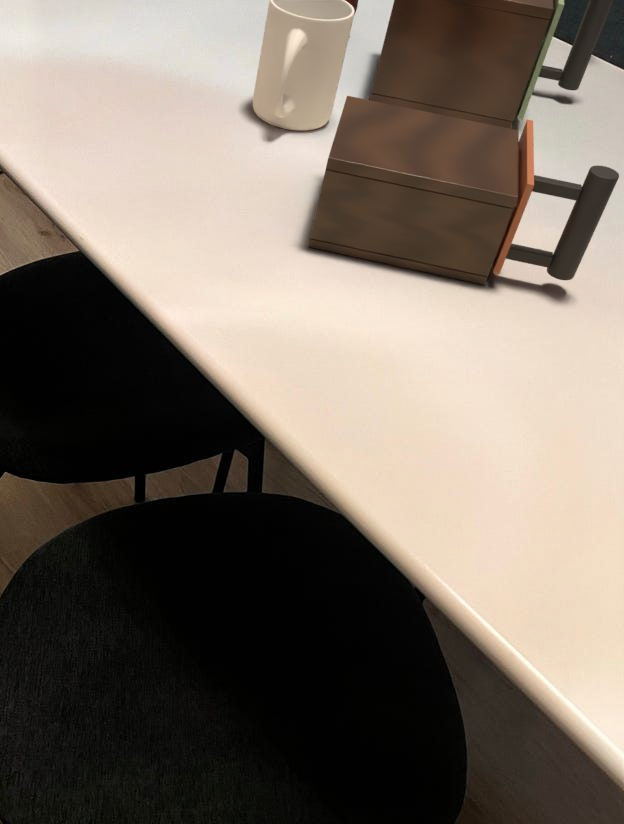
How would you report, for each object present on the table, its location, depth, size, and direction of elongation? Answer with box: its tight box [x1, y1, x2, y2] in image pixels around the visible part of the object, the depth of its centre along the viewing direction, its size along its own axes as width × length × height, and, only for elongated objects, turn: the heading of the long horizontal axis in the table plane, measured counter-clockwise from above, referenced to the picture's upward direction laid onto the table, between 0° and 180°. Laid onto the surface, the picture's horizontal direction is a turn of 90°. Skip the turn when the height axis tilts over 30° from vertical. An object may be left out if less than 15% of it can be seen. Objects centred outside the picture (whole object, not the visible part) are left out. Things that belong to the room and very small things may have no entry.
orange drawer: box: [492, 119, 620, 281], centre depth 91 cm, size 22×14×9 cm, turn 76°
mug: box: [252, 0, 356, 132], centre depth 105 cm, size 9×12×11 cm
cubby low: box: [307, 95, 520, 286], centre depth 92 cm, size 16×14×8 cm
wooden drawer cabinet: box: [368, 0, 554, 129], centre depth 114 cm, size 16×14×12 cm
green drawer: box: [516, 0, 614, 121], centre depth 113 cm, size 22×14×11 cm, turn 76°
